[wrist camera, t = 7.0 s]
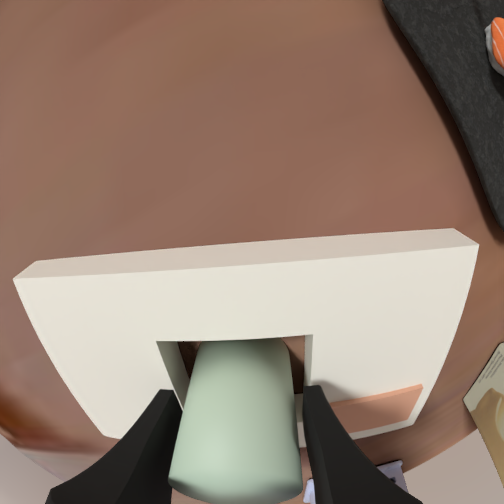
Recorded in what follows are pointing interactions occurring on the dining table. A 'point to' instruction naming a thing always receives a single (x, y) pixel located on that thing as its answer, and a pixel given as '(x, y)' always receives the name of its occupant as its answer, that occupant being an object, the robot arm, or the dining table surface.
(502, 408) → the skincare box
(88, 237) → the dining table surface
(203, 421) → the peg
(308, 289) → the hole board
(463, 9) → the sushi plate
